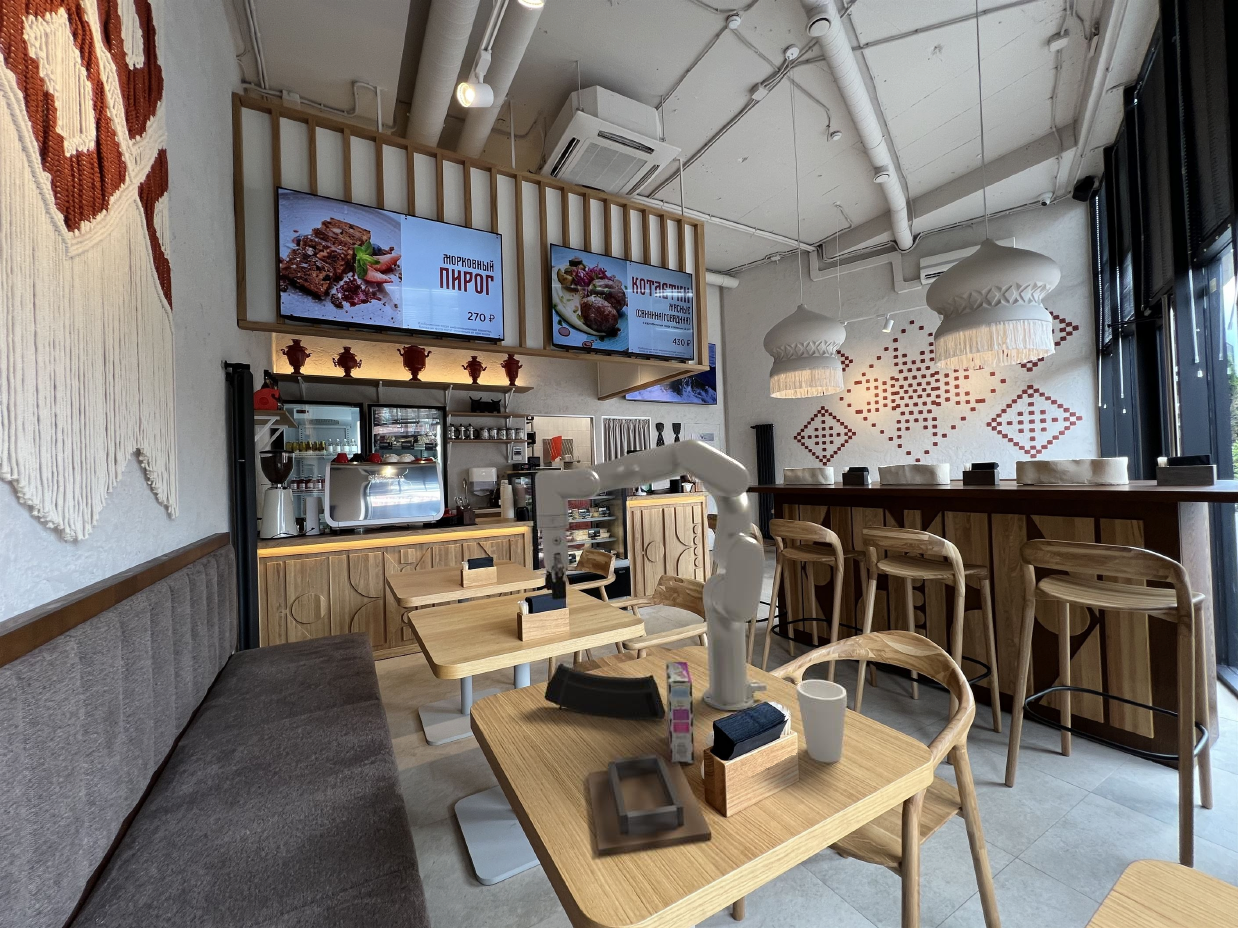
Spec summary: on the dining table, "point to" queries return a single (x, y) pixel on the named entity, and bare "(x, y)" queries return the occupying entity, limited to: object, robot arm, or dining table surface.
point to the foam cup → (822, 718)
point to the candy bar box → (680, 712)
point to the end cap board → (644, 806)
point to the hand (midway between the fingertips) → (556, 593)
